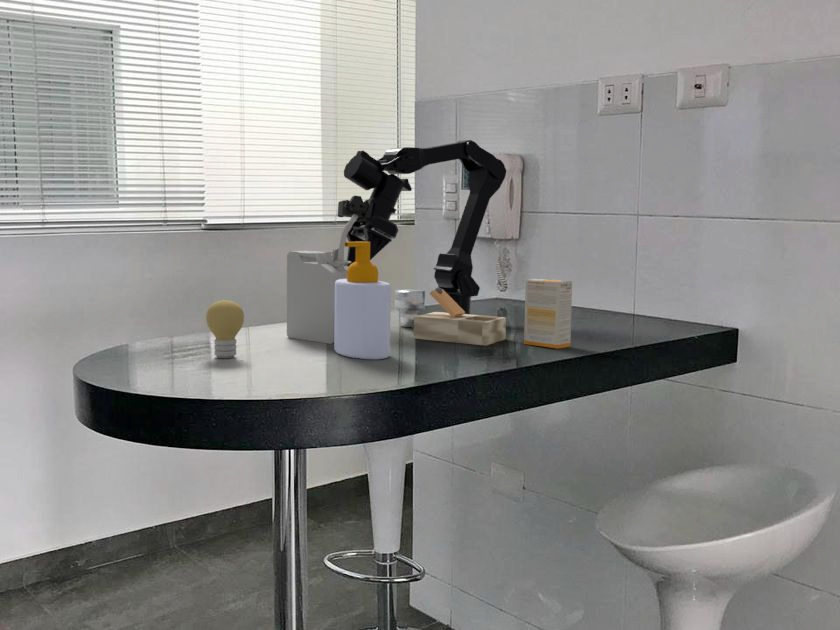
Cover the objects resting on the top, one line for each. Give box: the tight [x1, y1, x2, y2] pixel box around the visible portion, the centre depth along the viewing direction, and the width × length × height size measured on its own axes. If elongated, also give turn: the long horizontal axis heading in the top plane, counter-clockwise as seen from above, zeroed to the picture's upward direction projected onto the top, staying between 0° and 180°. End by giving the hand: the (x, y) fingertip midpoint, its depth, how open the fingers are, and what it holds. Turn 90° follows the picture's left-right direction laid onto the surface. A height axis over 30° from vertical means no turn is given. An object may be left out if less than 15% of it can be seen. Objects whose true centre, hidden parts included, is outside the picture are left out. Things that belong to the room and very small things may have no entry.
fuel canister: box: [286, 214, 358, 345], centre depth 175 cm, size 15×5×25 cm, turn 53°
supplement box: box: [523, 277, 573, 350], centre depth 174 cm, size 8×5×13 cm, turn 47°
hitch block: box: [413, 311, 507, 346], centre depth 181 cm, size 10×16×4 cm, turn 63°
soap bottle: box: [333, 241, 392, 361], centre depth 160 cm, size 13×8×20 cm, turn 37°
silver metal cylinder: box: [394, 288, 426, 328], centre depth 198 cm, size 7×7×8 cm
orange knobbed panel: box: [429, 286, 465, 317], centre depth 182 cm, size 7×5×2 cm
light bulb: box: [205, 299, 245, 359], centre depth 154 cm, size 6×6×10 cm
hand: (355, 265), depth 191 cm, fingers open, 9 cm apart
